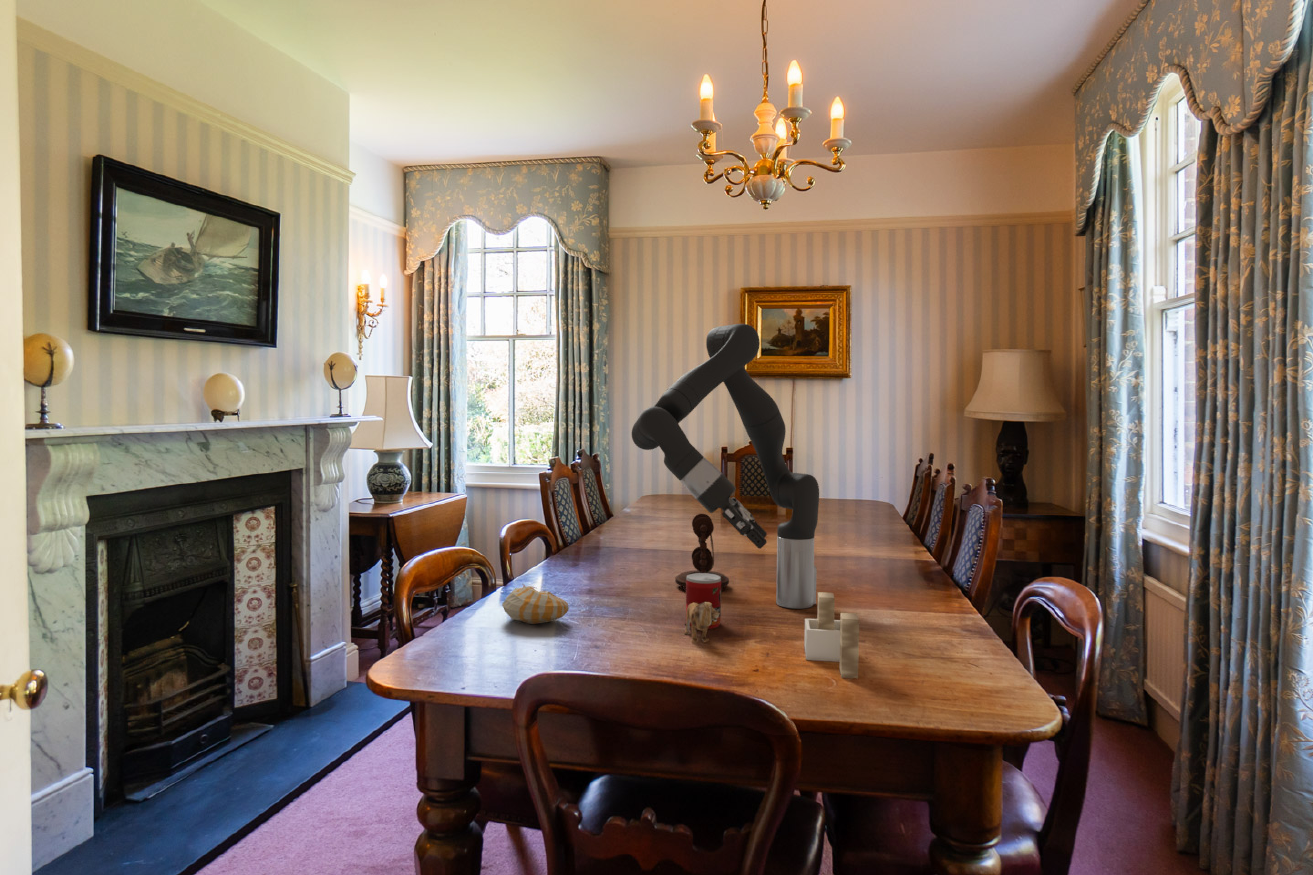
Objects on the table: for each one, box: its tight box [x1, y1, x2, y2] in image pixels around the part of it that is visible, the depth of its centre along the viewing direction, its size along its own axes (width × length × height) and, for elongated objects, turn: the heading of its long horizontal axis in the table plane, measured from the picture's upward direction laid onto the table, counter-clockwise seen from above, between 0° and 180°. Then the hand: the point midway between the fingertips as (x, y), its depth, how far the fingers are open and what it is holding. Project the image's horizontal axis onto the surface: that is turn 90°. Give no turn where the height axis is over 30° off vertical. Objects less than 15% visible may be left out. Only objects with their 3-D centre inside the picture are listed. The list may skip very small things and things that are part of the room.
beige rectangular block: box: [838, 612, 860, 680], centre depth 138 cm, size 3×4×11 cm
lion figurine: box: [683, 602, 720, 644], centre depth 160 cm, size 15×5×9 cm, turn 19°
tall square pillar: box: [816, 591, 836, 630], centre depth 149 cm, size 3×4×11 cm
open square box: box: [803, 618, 840, 663], centre depth 149 cm, size 8×8×6 cm
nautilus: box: [501, 583, 570, 625], centre depth 172 cm, size 8×22×15 cm
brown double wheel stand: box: [674, 513, 730, 592], centre depth 203 cm, size 15×15×20 cm
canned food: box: [685, 573, 722, 630], centre depth 169 cm, size 8×8×11 cm
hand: (763, 541), depth 151 cm, fingers open, 8 cm apart
